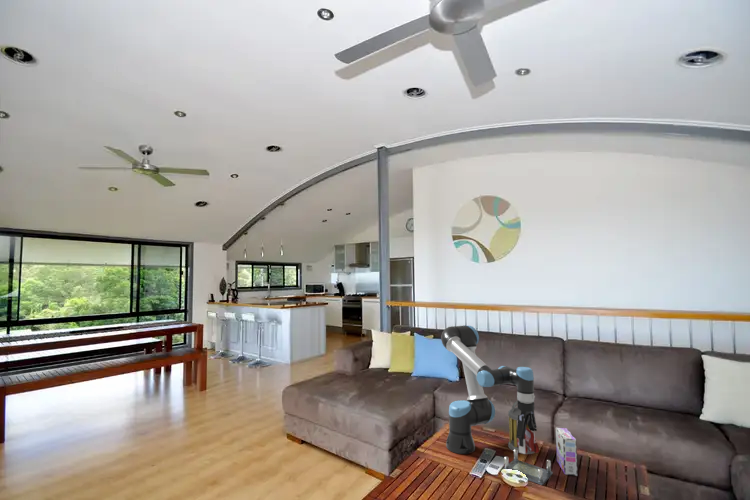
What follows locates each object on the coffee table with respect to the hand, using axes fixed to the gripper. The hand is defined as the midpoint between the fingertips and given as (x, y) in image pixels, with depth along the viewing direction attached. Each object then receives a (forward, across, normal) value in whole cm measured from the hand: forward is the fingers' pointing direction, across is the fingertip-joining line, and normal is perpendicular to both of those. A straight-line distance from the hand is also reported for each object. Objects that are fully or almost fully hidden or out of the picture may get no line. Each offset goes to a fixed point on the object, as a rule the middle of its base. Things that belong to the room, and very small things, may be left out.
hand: (527, 448), depth 174 cm
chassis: (+11, 0, 0) cm, 11 cm away
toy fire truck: (+1, 0, 0) cm, 1 cm away
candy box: (+11, +17, -12) cm, 24 cm away
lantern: (+11, +23, +12) cm, 28 cm away
